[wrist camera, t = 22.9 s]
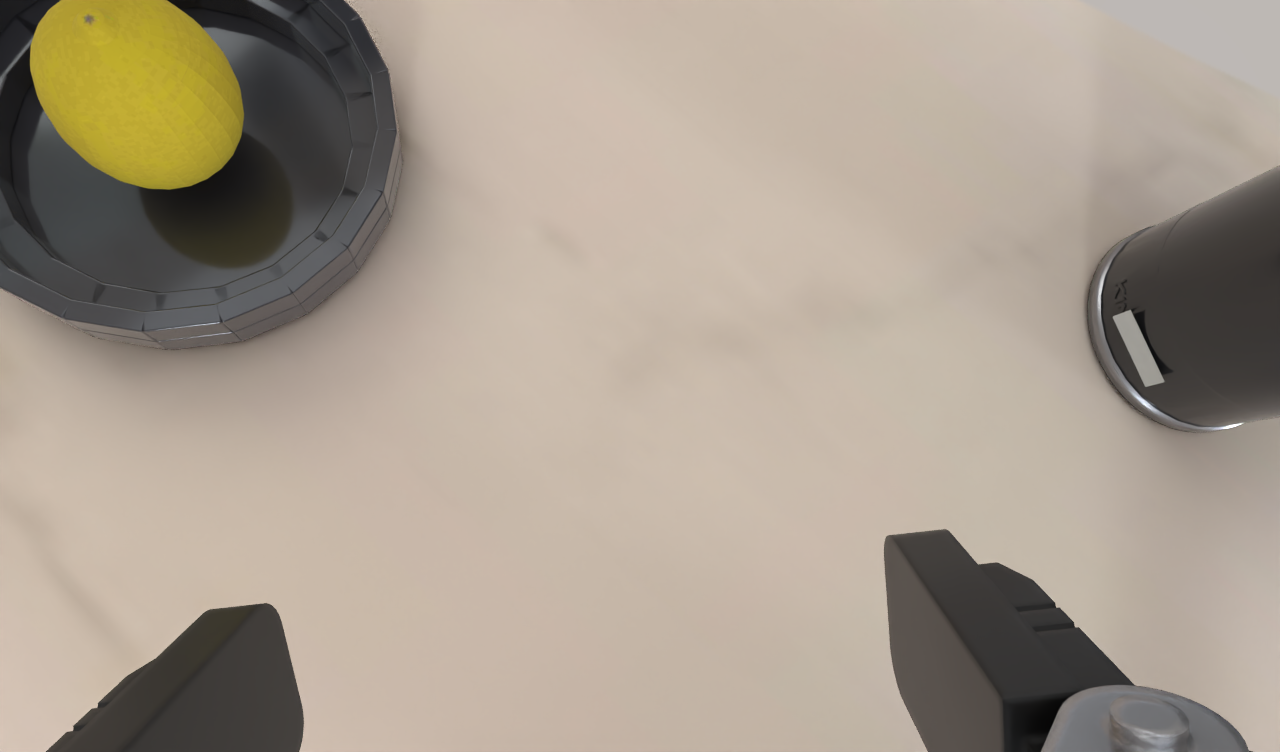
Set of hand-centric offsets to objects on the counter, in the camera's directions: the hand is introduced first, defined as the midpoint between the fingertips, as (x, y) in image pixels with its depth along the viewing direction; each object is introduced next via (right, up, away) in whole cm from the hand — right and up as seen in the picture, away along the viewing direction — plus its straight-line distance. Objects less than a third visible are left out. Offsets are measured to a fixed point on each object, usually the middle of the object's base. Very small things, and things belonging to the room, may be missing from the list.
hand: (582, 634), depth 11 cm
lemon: (-16, +11, +20) cm, 28 cm away
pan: (-16, +12, +20) cm, 28 cm away
